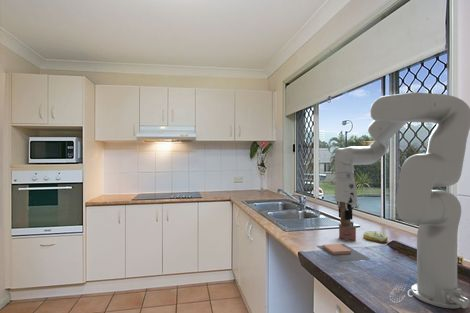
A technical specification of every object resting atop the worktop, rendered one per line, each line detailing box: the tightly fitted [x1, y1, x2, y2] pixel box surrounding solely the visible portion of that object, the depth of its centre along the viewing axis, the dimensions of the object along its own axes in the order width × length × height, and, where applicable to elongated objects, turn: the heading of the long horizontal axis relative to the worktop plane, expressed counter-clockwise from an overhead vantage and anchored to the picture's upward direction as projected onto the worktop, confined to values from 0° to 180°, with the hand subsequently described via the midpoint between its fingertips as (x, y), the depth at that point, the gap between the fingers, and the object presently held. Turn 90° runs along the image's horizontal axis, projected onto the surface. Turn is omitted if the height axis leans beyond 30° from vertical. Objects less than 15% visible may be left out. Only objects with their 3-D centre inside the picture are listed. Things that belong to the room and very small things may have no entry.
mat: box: [316, 243, 371, 263], centre depth 116 cm, size 19×14×1 cm
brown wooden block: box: [340, 201, 351, 227], centre depth 117 cm, size 4×4×13 cm
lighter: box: [338, 219, 357, 242], centre depth 134 cm, size 8×3×10 cm, turn 58°
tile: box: [322, 243, 351, 255], centre depth 117 cm, size 9×1×8 cm
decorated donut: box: [362, 230, 389, 244], centre depth 134 cm, size 10×11×4 cm
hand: (345, 217), depth 117 cm, fingers closed on brown wooden block, 4 cm apart
